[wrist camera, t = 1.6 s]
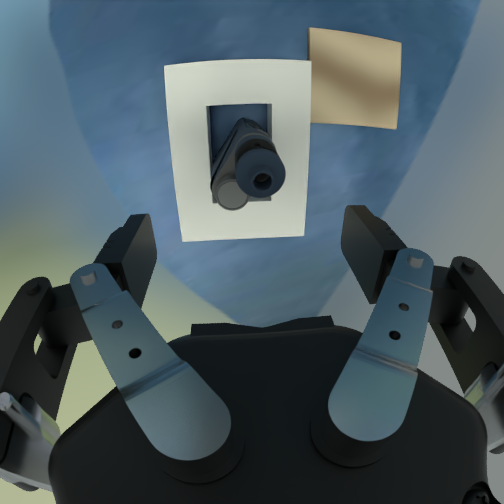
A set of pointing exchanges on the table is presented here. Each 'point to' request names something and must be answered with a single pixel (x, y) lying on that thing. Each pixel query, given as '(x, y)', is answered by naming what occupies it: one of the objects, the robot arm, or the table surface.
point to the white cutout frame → (200, 148)
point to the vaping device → (246, 167)
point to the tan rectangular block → (354, 78)
